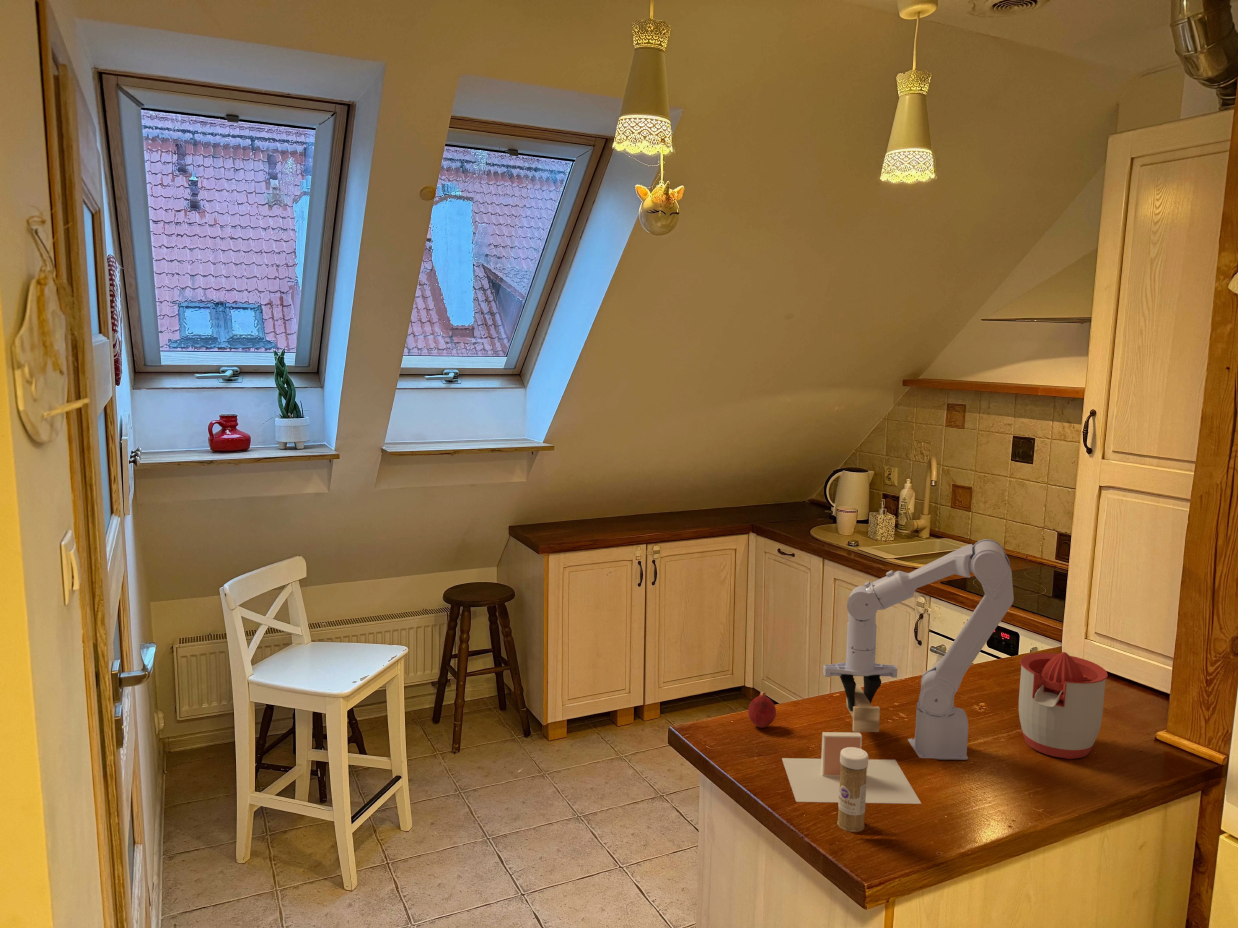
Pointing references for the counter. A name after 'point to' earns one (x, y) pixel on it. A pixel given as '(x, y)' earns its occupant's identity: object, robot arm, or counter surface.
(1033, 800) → the counter surface
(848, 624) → the robot arm
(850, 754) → the sprinkles bottle
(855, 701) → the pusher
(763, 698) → the onion
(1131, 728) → the counter surface
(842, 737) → the tile
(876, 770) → the mat
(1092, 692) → the citrus juicer
